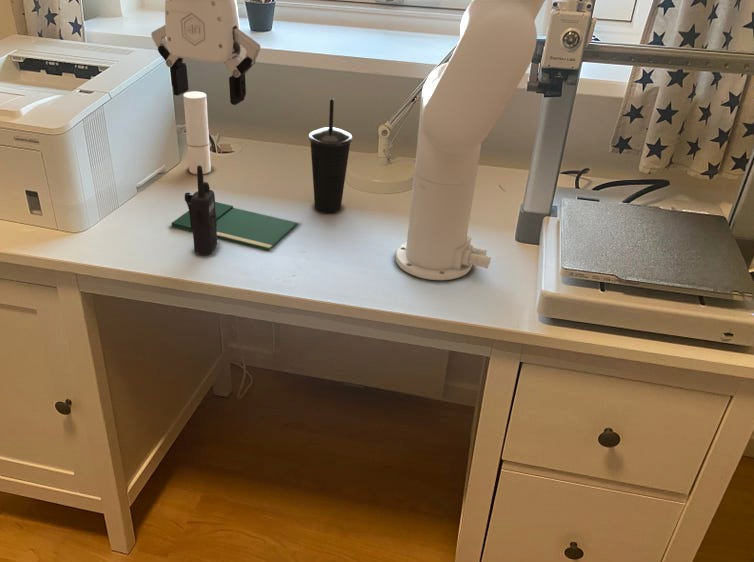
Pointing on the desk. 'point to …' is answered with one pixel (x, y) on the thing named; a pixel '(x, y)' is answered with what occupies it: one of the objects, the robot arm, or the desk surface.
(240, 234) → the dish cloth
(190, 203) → the two-way radio
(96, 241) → the desk surface
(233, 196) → the desk surface
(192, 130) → the tube
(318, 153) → the drinking cup
